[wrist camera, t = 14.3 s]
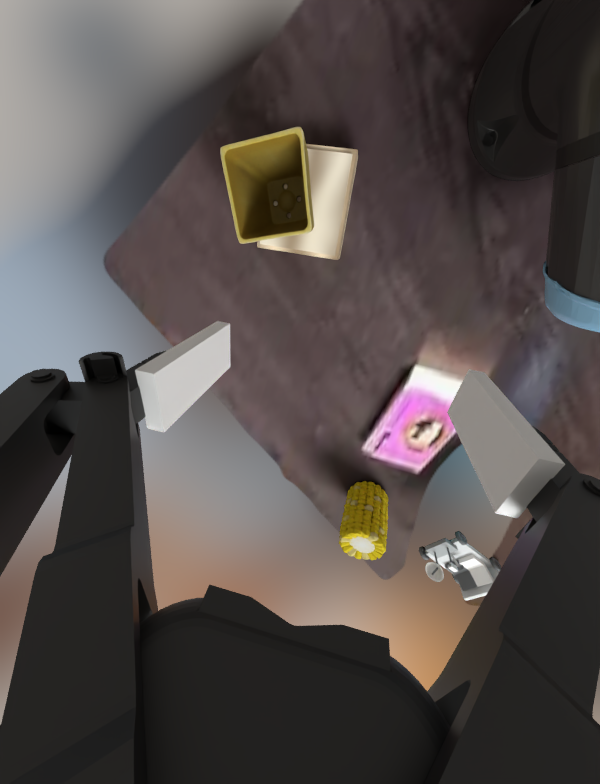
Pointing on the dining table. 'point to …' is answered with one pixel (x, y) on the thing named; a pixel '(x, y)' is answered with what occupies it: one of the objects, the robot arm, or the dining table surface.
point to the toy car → (461, 565)
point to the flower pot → (269, 185)
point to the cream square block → (323, 203)
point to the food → (364, 521)
